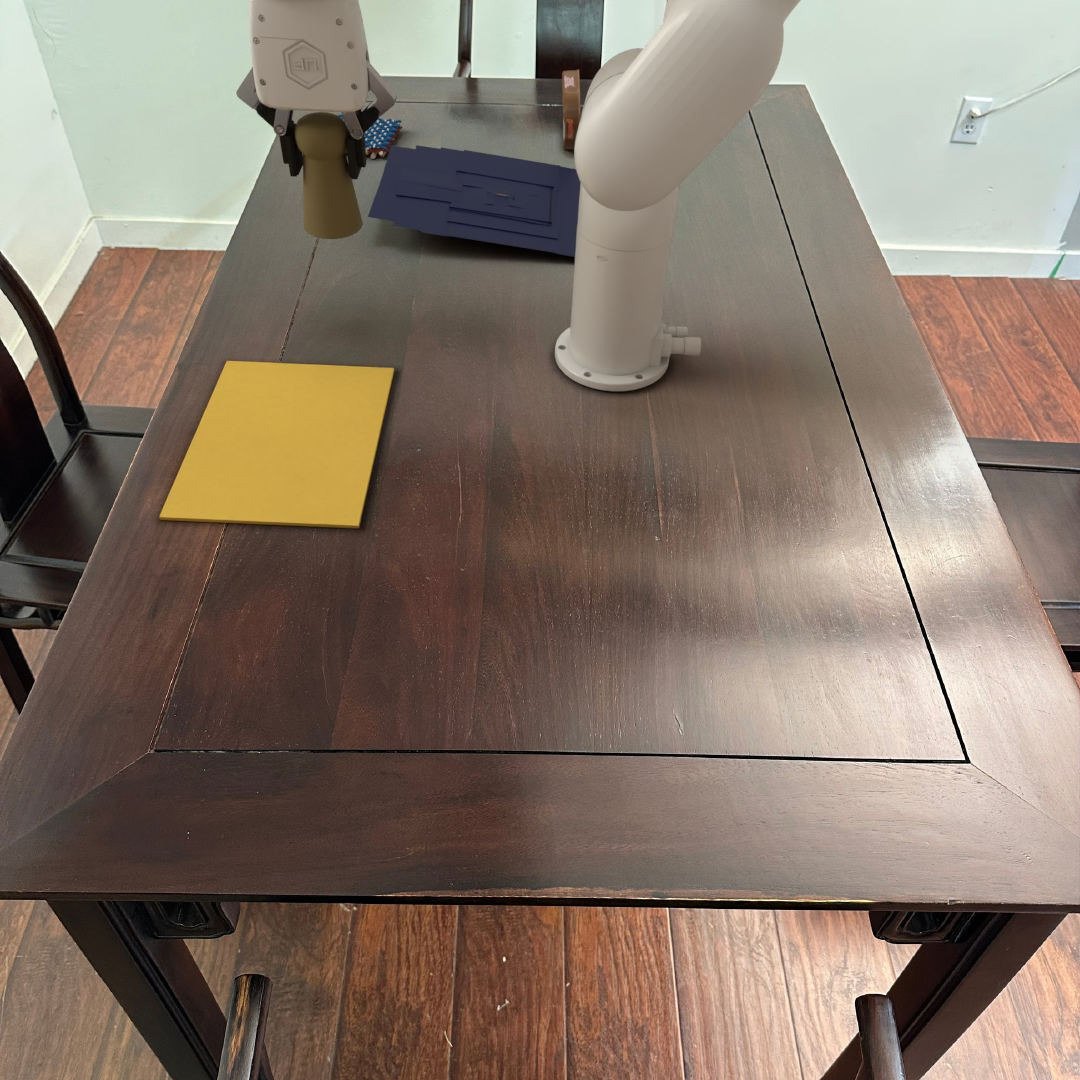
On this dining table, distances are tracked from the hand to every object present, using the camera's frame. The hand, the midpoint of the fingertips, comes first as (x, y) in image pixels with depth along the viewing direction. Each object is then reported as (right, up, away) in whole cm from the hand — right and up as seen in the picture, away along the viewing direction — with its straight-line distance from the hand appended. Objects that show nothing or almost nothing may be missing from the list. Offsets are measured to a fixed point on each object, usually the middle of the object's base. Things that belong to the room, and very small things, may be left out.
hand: (326, 170), depth 96 cm
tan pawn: (0, -4, +4) cm, 6 cm away
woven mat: (-5, +22, +47) cm, 52 cm away
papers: (+15, +7, +33) cm, 37 cm away
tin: (+26, +24, +51) cm, 62 cm away
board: (-4, -27, 0) cm, 27 cm away
